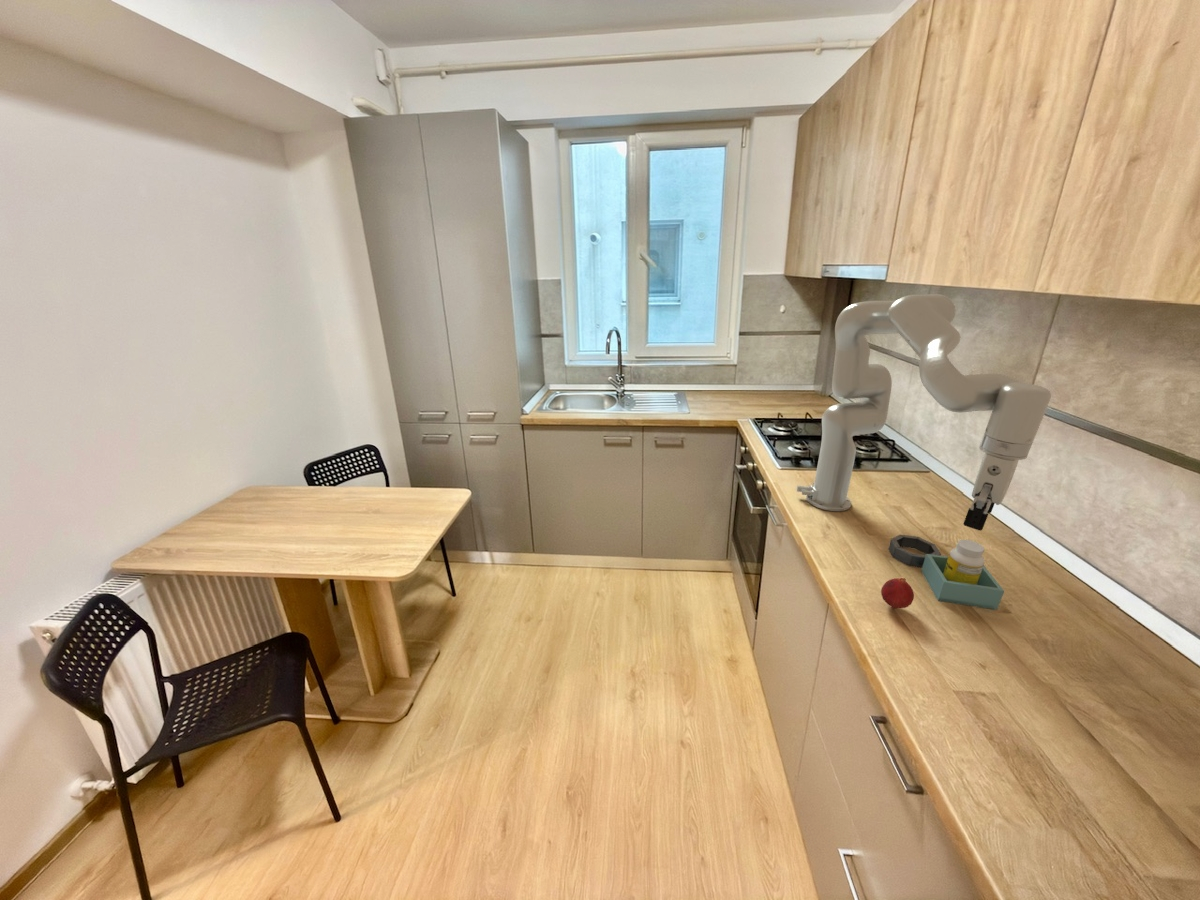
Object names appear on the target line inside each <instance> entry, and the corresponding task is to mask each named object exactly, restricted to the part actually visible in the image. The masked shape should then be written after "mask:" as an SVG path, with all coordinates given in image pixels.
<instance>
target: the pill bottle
mask: <svg viewBox="0 0 1200 900" xmlns="http://www.w3.org/2000/svg"><path fill="white" fill-rule="evenodd" d="M984 552H985V547H984V546H983V545H981V544H980V543H979V542H977V541H974V540H969V539H959V540H958V541H957V544H956V547H955V548H952V549H951V550H950V552H949V554H948V556H947V557H948V560H947V563H946V566H945V569H944V572H943V575H944V577H945V578H946V580H947V581H953V582H960V583H967V584H974V585H977V582H978V580H979V577H980V574H981V571H982V569H983V566H985V558H984V557H983V555H984Z"/></svg>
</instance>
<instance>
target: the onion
mask: <svg viewBox="0 0 1200 900" xmlns="http://www.w3.org/2000/svg"><path fill="white" fill-rule="evenodd" d="M880 593H881V597H882V599H883V601H884V602H885V603H886V604H887V605H888V606H889V607H891V609H894V610H897V609H905V608H908V607H910V605H912V603H913V601H914V599H915V594H914V591H913V588H912V586H911V585H910V584H909V583H908V582H907V580H906V577H904V576H901V577H897V578H891V579H888V580H886V581H885V583H884V584H883V585H882V587H881V591H880Z"/></svg>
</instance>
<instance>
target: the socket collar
mask: <svg viewBox="0 0 1200 900" xmlns="http://www.w3.org/2000/svg"><path fill="white" fill-rule="evenodd" d="M905 548H906V549H905ZM907 549H914V550H917V551H918V552H921V553H923V554H921V553H919V554H918V553H913V552H911V551H909V550H907ZM887 550H888V551H889V553H890V555H891V558H893V559H895V560H897V561H898V562H900V563H902V564H904V565H906V566H908V567H912V568H920V569H922V567H923V563H924V560H925V557H926V554H932V555H939V556H942V552H941V551H940V550H939V548H938V547H937V545H936V544H935V543H933V542H931V541H929V540H926V539H924V538H922V537H919V536H915V535H909V534H902V533H901V534H898V535H896V536H894V537H891V538H890V541H889V545H888V549H887Z"/></svg>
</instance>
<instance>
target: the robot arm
mask: <svg viewBox="0 0 1200 900" xmlns="http://www.w3.org/2000/svg"><path fill="white" fill-rule="evenodd" d="M954 303H955V302H954V301H953V300H952V299H951V298H950V297H948V296H946V295H944V294H939V293H932V294H931V293H930V294H929V293H927V294H909V295H905V296H902V297H900V298H898V299H897V300H867V301H860V302H855V303H852V304H850V305H848V306H846V307H845V308H843V310H842V311H841V312H840V313H839V315H838V316H837V319H836V322H835V326H834V337H835V338H834V339H835V353H834V359H833V362H834V363H833V371H832V378H831V379H832V380H831V391H832V394H833V395H834V396H835V397H836V398H838V399H842V400H844V399H845V400H852V399H855V400H856V399H860V401H856V402H855V401H854V402H843V403H836V404H832V405H831V406H829V407H828V408H826V410H824V412H823V413H822V417H821V444H820V449H819V455H818V461H817V466H816V472H815V477H814V482H812V483H811V484H810V485H807V486H805V485H798V484H797V486H796V492H800V493H801V495H803V496H806V497H805V499H806V501H807V502H808V503H809V504H810V505H812V506H813V507H816V508H818V509H821V510H824V511H830V512H844V511H847V510H849V509H850V508H851V506H852V501H851V499H850V498H849V497H848V493H849V488H850V483H851V478H852V474H853V469H854V464H855V459H856V454H857V449H856V445H855V442H854V440H853V437H854V436H858V435H861V436H862V435H869V434H875V433H877V432H879V431H881V430H882V429H883V428H884V426H885V424H886V422H887V418H888V412H889V406H890V399H891V393H892V383H893V380H892V375H891V373H890V371H889V369H888V368H887V367H886V366H885V365H882V364H879V363H869V361H870V354H871V350H870V349H871V347H870V345H869V342H868V340H867V338H866V336H868V335H870V336H871V335H890V334H891V335H893V334H894V335H895V334H899V336H900V337H902V339H903V340H904V341H905V342H906V343H907V345H908V346H909V347H910V348H911V349H912V350H913V351H914V352H915V354H916V355H917V356H918V357H919V363H918V364H919V365H918V369H919V371H918V372H919V377H920V380H921V383H922V385H923V387H924V388H925V390H926V391H927V392H928V394H930V395H931V397H932V398H933V399H934V400H935V401H936V402H937V403H938V404H939V405H940V406H941V407H943V408H944V409H945V410H948V411H949V412H953V413H971V412H979V411H980V412H981V411H983V412H984V411H987V412H988V411H991V413H990V417H989V420H988V422H987V425H986V428H985V430H984V433H983V436H982V439H981V442H980V444H979V450H980V451H981V452H983V453H984V455H983V457H982V461H981V464H980V465H979V469H978V473H977V475H976V478H975V482H974V485H973V489H972V492H971V497H972V498H973V501H972V503H971V505H970V507H969V508H968V510H967V513H966V515H965V517H964V520H963V526H965V527H967V528H971V529H973V530H975V531H983V530H984V529H983V528H984V526H985V524H986V521H987V519H988V516H989V514H991V513H992V512H993V508H994V506H995V504H996V506H999V505H1002V502H1003V500H1004V498H1005V496H1006V495H1007V491H1008V489H1009V487H1010V484H1011V482H1012V479H1013V478H1014V474H1015V471H1016V470H1017V466H1018V464H1019V461H1021V460H1025V459H1027V457H1028V456H1029V453H1030V450H1031V448H1032V445H1033V443H1034V440H1035V438H1036V435H1037V433H1038V431H1039V429H1040V426H1041V423H1042V421H1043V419H1044V416H1045V413H1046V411H1047V408H1048V406H1049V404H1050V401H1051V397H1052V394H1051V391H1050V390H1049V389H1048V388H1046V387H1045V386H1044V387H1043V386H1042V385H1038V384H1037V385H1036V384H1032V383H1027V382H1026V383H1025V382H1022V381H1019V380H1017V379H1016V378H1013V377H1010V376H1008V375H1006V374H1001V373H981V374H979V373H978V374H968V375H964V374H963V373H962V372H960V371H959V370H958V369H957V367H956V366H955V365H954V364H953V363H952V361H951V360H950V359H949V357H948V355H949V354H951V353H952V352H953V351H954V350H955V349H956V348H957V346H958V345H959V343H960V340H961V334H960V331H958V330H957V328H955V327H954V326H953V325H952V322H953V320H954V319H955V316H956V312H957V311H956V305H955V304H954Z"/></svg>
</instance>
